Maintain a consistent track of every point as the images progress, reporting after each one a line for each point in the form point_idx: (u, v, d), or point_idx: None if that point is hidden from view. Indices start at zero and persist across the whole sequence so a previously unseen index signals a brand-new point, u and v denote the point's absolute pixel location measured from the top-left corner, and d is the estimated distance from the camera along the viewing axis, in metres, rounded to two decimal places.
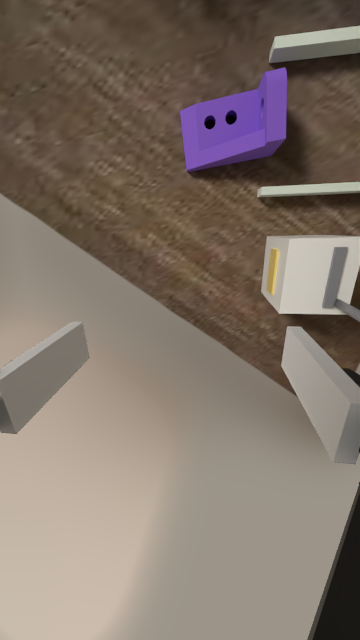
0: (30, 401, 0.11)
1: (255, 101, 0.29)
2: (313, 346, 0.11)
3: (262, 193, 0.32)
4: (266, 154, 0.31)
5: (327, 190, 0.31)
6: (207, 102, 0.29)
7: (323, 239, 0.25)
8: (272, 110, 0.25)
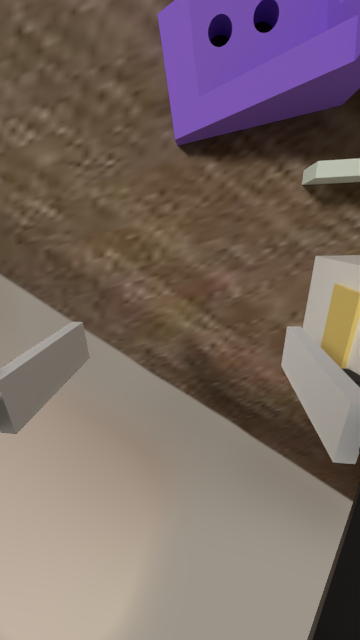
0: (30, 401, 0.11)
1: None
2: (313, 346, 0.11)
3: (319, 174, 0.16)
4: (336, 99, 0.15)
5: None
6: None
7: None
8: None
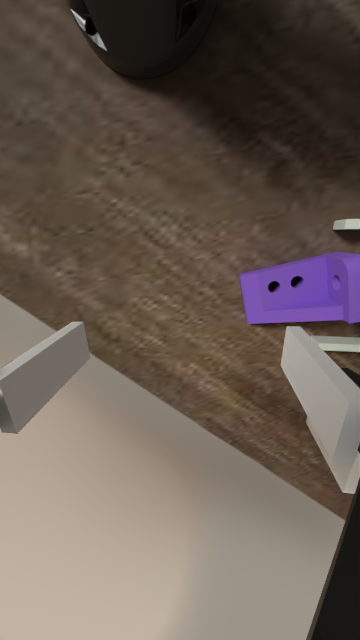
0: (31, 401, 0.11)
1: (323, 267, 0.27)
2: (312, 346, 0.11)
3: None
4: None
5: None
6: (271, 270, 0.28)
7: None
8: (355, 297, 0.24)
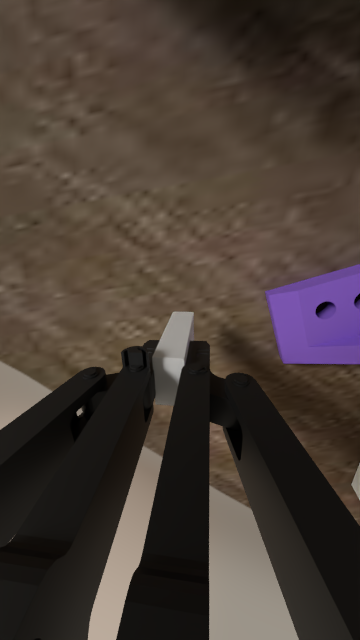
0: None
1: None
2: (186, 325, 0.14)
3: None
4: None
5: None
6: (320, 285, 0.17)
7: None
8: None
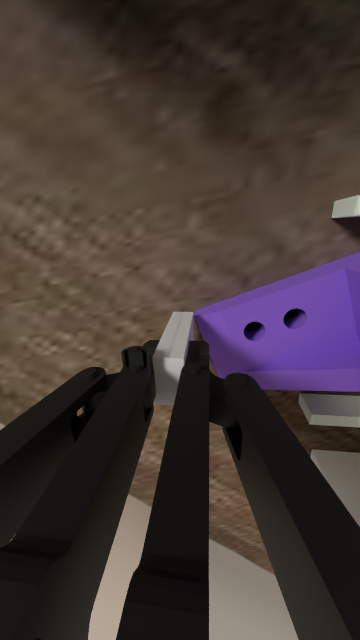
0: None
1: (342, 288, 0.14)
2: (185, 325, 0.14)
3: (312, 422, 0.18)
4: None
5: None
6: (243, 305, 0.15)
7: None
8: None
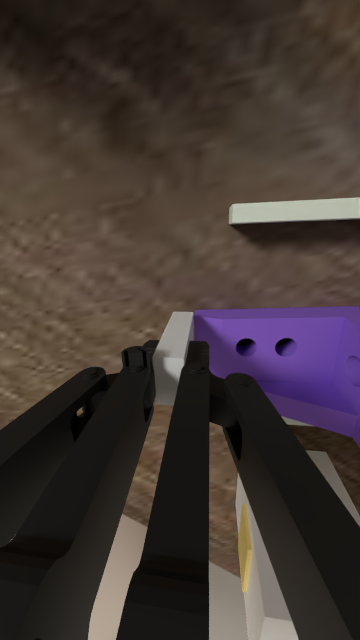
0: None
1: (335, 333, 0.15)
2: (185, 325, 0.14)
3: None
4: None
5: None
6: (245, 320, 0.16)
7: None
8: None
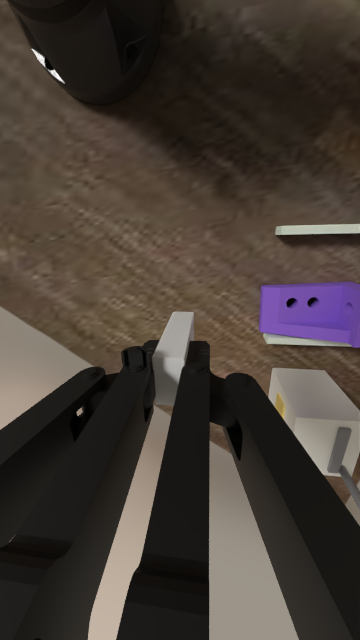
0: None
1: (338, 294, 0.30)
2: (186, 325, 0.14)
3: (268, 342, 0.33)
4: None
5: (330, 344, 0.32)
6: (292, 288, 0.31)
7: (328, 420, 0.27)
8: None
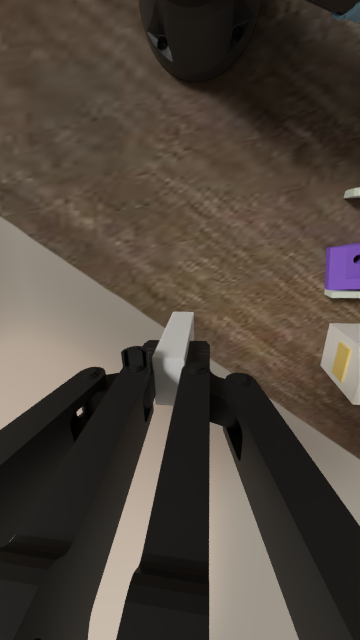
0: None
1: None
2: (186, 325, 0.14)
3: (332, 296, 0.38)
4: None
5: None
6: (359, 245, 0.35)
7: None
8: None
